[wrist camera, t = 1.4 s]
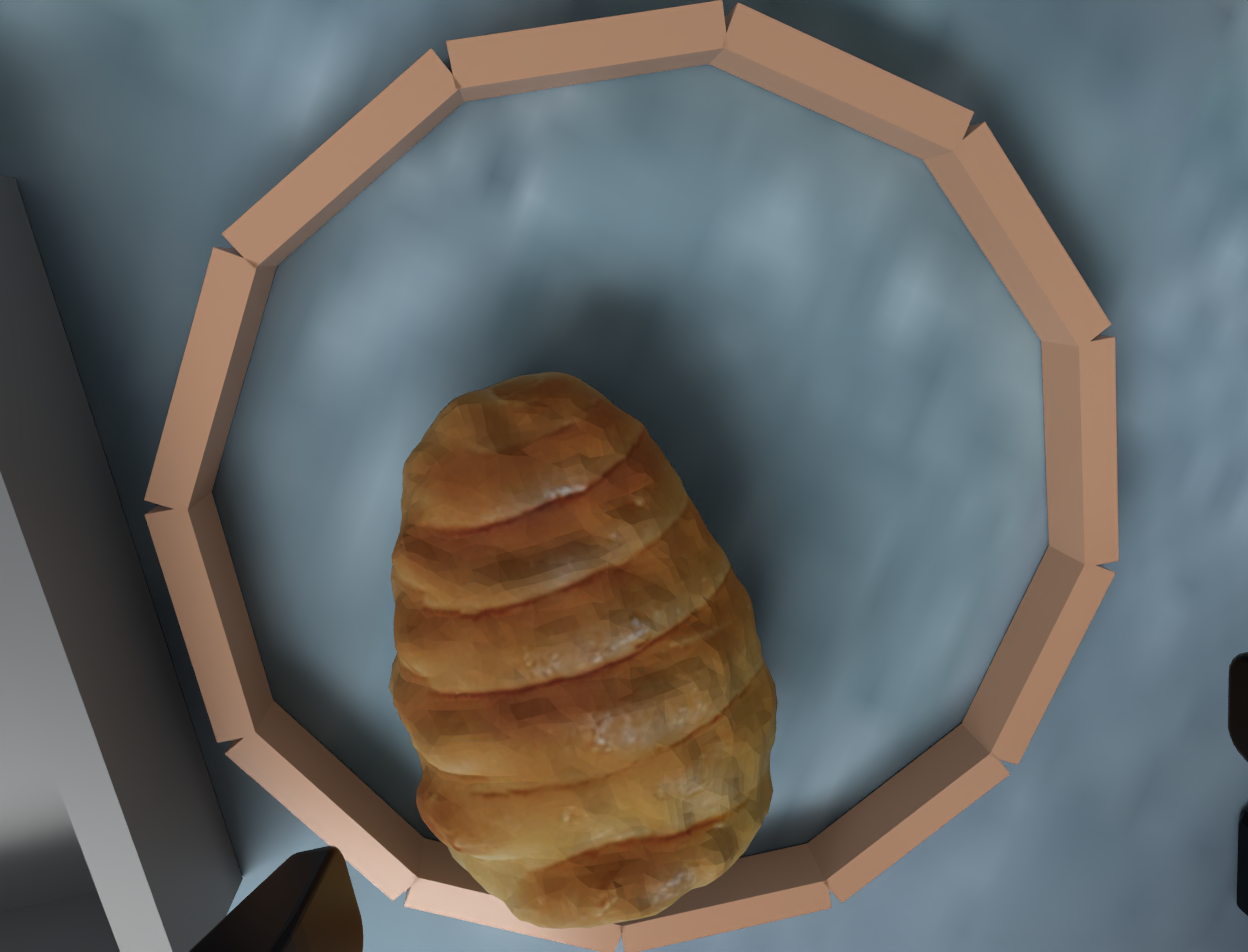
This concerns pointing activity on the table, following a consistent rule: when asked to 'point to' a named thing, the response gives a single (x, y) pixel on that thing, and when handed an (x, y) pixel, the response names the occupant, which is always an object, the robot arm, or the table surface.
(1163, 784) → the table surface
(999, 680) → the socket ring
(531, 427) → the pastry
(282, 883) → the robot arm
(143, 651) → the bin
